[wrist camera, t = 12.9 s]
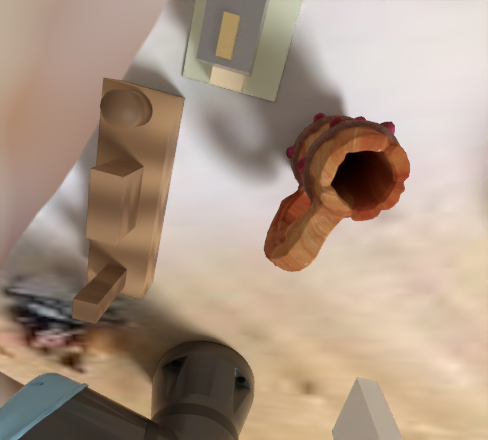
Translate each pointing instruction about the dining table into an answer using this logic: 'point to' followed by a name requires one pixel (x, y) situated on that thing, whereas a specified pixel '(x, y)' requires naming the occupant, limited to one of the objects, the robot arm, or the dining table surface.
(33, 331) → the dining table surface
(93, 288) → the wooden peg board
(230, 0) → the lever cap
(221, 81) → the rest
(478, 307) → the dining table surface
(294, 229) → the mug
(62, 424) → the robot arm
